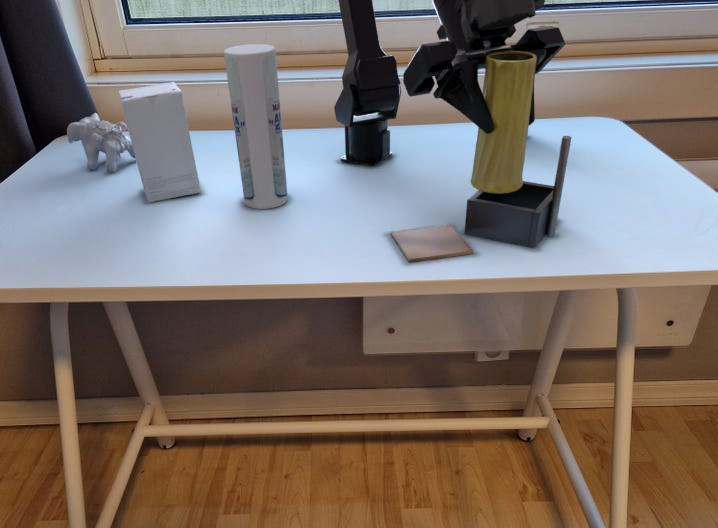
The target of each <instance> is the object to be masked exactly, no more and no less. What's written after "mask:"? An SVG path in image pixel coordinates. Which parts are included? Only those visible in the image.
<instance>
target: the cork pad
mask: <svg viewBox="0 0 718 528" xmlns="http://www.w3.org/2000/svg"><path fill="white" fill-rule="evenodd" d="M390 237H392V239H393V241H394V242H395V243H396V245H397V246H398V248H399V249H400V251H401V253H402V255H404V258H406V260H407V262H408V263H414V262H423V261H430V260H435V259H436V260H438V259H445V258H451V257H459V256H466V255H473V254H474V253H475V251H474V249H473V248H472V247H471V246H470V244H469V243H467V241H466V240H465V239H464V238H463V236H462V235H461V234H460V233H459V232H458V231H457V230H456V229H455V227H453V225H452V224H451V223H448V224H442V225H441V224H440V225H433V226H432V225H431V226H425V227H416V228H409V229H401V230H394V231H390Z"/></svg>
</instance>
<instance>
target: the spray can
mask: <svg viewBox="0 0 718 528" xmlns="http://www.w3.org/2000/svg"><path fill="white" fill-rule="evenodd" d="M276 50H277V49H276V47H275V46H274V45H272V44H265V43H253V44H252V43H251V44H242V45H240V44H239V45H235V46H234V45H233V46H230V47H227V48H225V49H224V51H223V57H224V62H225V71H226V79H227V85H228V91H229V99H230V106H231V113H232V121H233V122H232V123H233V129H234V135H235V143H236V150H237V151H236V152H237V157H238V163H239V164H238V165H239V172H240V179H241V187H242V193H243V199H244V203H245V205H246V206H247V207H249V208H252V209H257V210H268V209H274V208H277V207H280V206H283V205H284V204H285V203H286V202H287V201H288V186H287V184H288V183H287V173H286V161H285V147H284V137H283V136H284V135H283V124H282V113H281V101H280V100H281V99H280V88H279V76H278V74H279V73H278V63H277V53H276V52H277V51H276Z"/></svg>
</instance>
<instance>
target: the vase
mask: <svg viewBox="0 0 718 528" xmlns="http://www.w3.org/2000/svg"><path fill="white" fill-rule="evenodd" d="M536 60H537V57H536V55H535V54H533V53H528V52H522V51H500V52H494V53H490V54H488V55H487V57H486V63H485V69H484V76H483V85H482V86H483V87H482V93H483V96H484V99H485V101H486V104H487V107H488V109H489V112H490V114H491V118H492V121H493V125H494V130H493V131H492V132H491V133H490V134H486V133H485V132H484V131H483V130H481V129H480V128H479V127H478V129H477V135H476V142H475V143H476V144H475V151H474V156H473V157H474V158H473V166H472V172H471V178H470V185H471V186H472V187H473V188H474V189H476V190H477V191H478V190H480V191H483V192H488V193H498V194H500V193H511V192H514V191H517V190H519V189H520V188H521V187H522V185H523V181H524V180H523V172H524V166H525V165H524V164H525V160H526V159H525V158H526V149H527V139H528V136H527V133H528V134H529V127H528V125H529V116H530V108H531V99H532V90H533V81H534V82H535V79H534V74H535V67H536ZM535 75H536V74H535ZM529 126H530V125H529Z"/></svg>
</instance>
